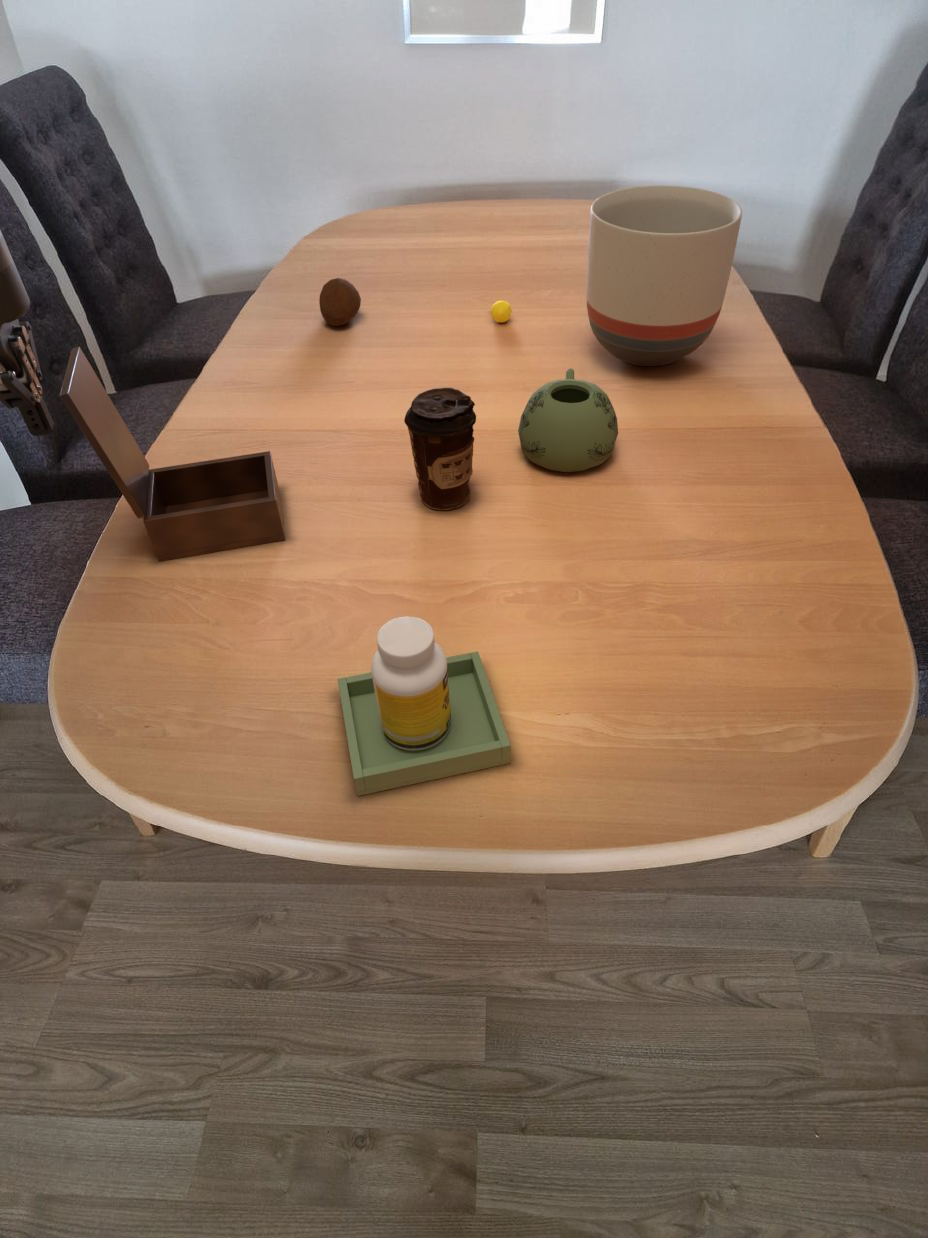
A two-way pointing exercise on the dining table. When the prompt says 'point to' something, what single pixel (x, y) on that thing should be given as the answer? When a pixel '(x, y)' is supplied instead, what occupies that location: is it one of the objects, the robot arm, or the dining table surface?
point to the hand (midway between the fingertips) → (43, 431)
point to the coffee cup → (442, 446)
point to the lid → (105, 430)
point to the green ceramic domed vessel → (568, 425)
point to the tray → (462, 750)
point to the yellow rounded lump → (501, 311)
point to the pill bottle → (411, 684)
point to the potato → (339, 301)
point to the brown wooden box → (213, 506)
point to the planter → (658, 269)
